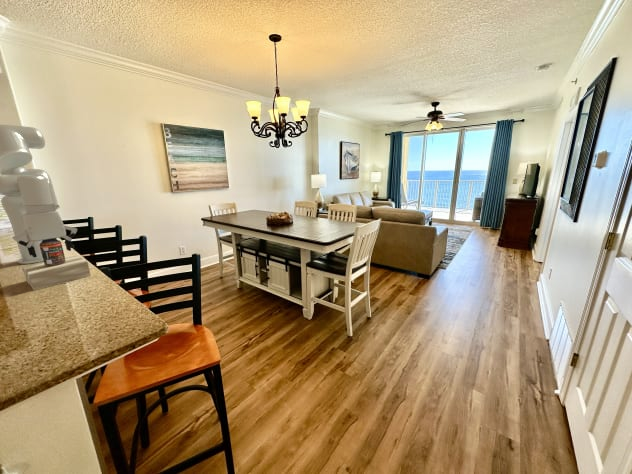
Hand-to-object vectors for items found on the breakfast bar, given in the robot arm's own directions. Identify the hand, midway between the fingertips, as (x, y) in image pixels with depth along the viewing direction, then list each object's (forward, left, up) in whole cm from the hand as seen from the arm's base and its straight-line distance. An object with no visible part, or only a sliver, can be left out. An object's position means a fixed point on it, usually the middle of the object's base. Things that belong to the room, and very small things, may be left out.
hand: (52, 253), depth 100 cm
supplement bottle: (0, 0, -5) cm, 5 cm away
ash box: (0, 0, -10) cm, 10 cm away
